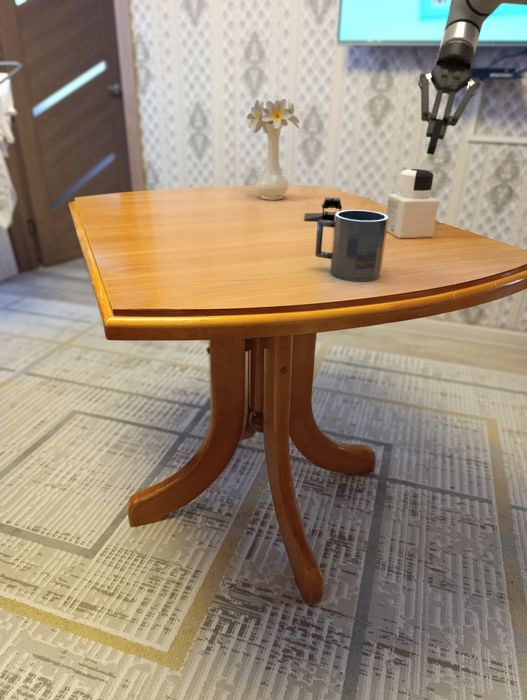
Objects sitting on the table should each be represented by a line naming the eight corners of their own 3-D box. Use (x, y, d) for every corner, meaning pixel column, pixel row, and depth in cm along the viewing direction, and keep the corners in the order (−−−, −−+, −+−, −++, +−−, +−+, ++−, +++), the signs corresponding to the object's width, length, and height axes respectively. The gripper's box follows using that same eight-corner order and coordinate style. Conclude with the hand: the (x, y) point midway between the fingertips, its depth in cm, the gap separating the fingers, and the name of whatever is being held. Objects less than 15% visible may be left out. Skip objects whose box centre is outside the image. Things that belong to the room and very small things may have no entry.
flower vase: (271, 190, 153) (273, 98, 141) (307, 201, 139) (313, 99, 127) (233, 194, 146) (232, 97, 135) (267, 205, 132) (269, 98, 121)
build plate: (304, 221, 118) (305, 200, 116) (304, 214, 124) (305, 195, 122) (358, 222, 117) (360, 202, 115) (355, 216, 124) (357, 196, 122)
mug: (384, 270, 86) (392, 213, 82) (374, 284, 79) (382, 223, 75) (321, 261, 90) (325, 206, 86) (306, 274, 83) (310, 215, 79)
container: (415, 228, 113) (425, 167, 107) (433, 237, 106) (444, 172, 101) (383, 229, 112) (391, 167, 106) (399, 238, 105) (408, 172, 99)
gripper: (482, 70, 113) (458, 165, 109) (423, 61, 115) (398, 154, 112) (492, 44, 105) (467, 145, 102) (429, 35, 108) (402, 134, 104)
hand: (431, 150), depth 107 cm, fingers closed
